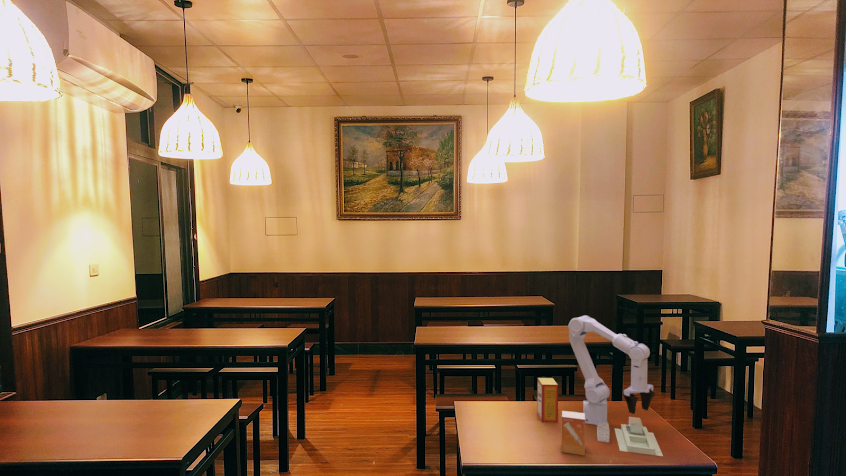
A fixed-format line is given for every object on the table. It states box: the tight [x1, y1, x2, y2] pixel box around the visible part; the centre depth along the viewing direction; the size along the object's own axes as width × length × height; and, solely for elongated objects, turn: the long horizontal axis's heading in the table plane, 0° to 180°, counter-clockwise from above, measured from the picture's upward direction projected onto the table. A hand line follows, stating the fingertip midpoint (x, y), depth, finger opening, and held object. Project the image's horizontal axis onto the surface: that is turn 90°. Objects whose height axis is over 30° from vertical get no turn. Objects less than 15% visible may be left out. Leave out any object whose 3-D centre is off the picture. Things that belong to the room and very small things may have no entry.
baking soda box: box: [536, 377, 559, 424], centre depth 199 cm, size 10×6×16 cm
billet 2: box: [628, 416, 643, 435], centre depth 180 cm, size 4×6×6 cm, turn 163°
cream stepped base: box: [614, 423, 664, 457], centre depth 175 cm, size 14×20×3 cm
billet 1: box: [596, 421, 610, 443], centre depth 178 cm, size 4×6×6 cm, turn 163°
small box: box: [560, 410, 586, 457], centre depth 170 cm, size 8×6×13 cm
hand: (638, 411), depth 182 cm, fingers open, 7 cm apart
